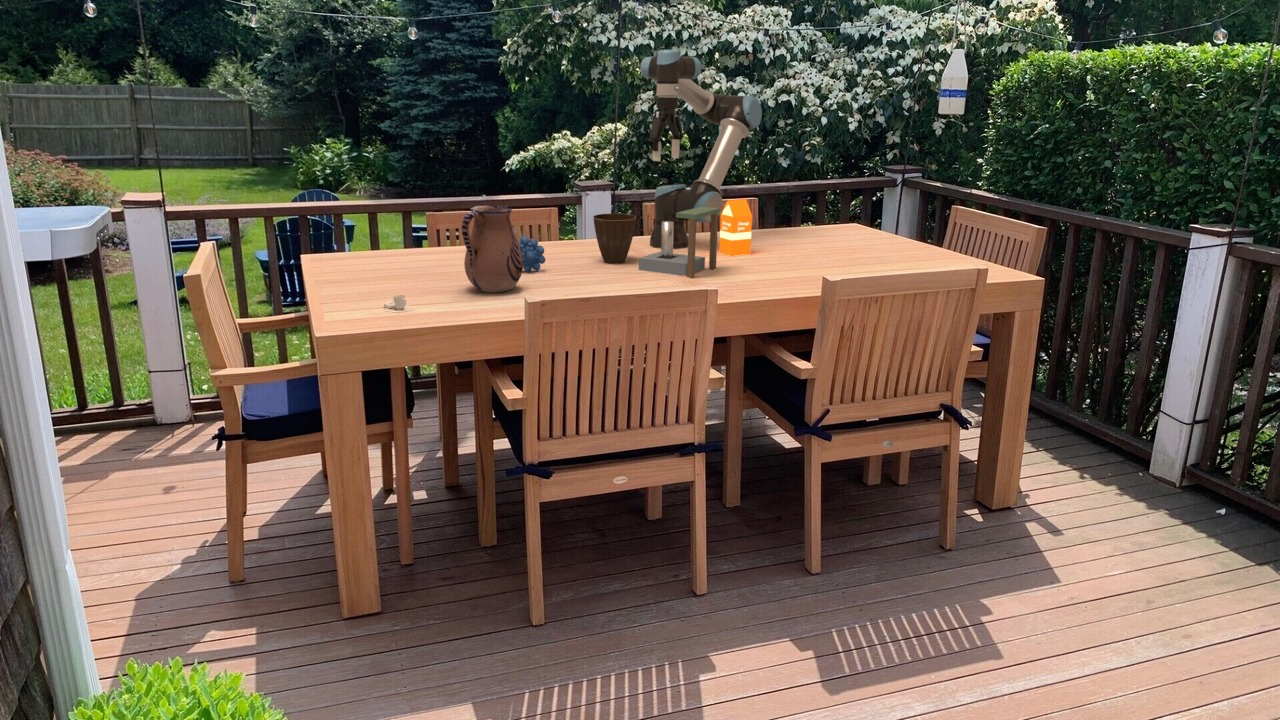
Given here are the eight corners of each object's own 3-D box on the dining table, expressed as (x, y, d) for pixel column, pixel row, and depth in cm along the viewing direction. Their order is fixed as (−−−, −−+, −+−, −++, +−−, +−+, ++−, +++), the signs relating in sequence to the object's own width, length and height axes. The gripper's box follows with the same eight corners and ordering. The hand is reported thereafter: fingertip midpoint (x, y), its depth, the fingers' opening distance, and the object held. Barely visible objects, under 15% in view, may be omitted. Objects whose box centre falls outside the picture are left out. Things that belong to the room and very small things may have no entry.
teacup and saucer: (380, 308, 259) (379, 294, 258) (408, 305, 263) (407, 291, 262) (389, 315, 252) (388, 300, 251) (418, 311, 256) (417, 297, 255)
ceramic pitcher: (534, 286, 286) (532, 205, 278) (497, 301, 267) (494, 214, 260) (486, 281, 292) (483, 202, 285) (447, 295, 274) (442, 210, 266)
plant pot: (643, 264, 322) (643, 218, 317) (604, 267, 316) (604, 220, 311) (624, 256, 335) (624, 212, 330) (586, 259, 328) (586, 214, 323)
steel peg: (669, 270, 312) (670, 223, 308) (658, 269, 314) (659, 222, 310) (674, 268, 316) (675, 221, 311) (664, 267, 318) (665, 220, 313)
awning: (674, 275, 304) (676, 212, 298) (699, 266, 319) (701, 206, 312) (693, 278, 300) (695, 214, 294) (717, 269, 315) (720, 208, 309)
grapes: (514, 275, 301) (513, 239, 298) (509, 271, 307) (508, 235, 304) (548, 273, 305) (548, 237, 302) (543, 269, 311) (543, 234, 308)
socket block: (638, 269, 313) (638, 258, 311) (658, 263, 324) (659, 251, 323) (685, 275, 304) (685, 264, 303) (704, 268, 315) (705, 257, 314)
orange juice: (750, 254, 342) (753, 200, 336) (731, 256, 337) (733, 201, 331) (737, 251, 348) (740, 197, 342) (718, 253, 344) (720, 199, 338)
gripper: (659, 97, 306) (657, 162, 313) (693, 96, 327) (691, 157, 333) (639, 97, 310) (638, 161, 316) (675, 96, 331) (673, 156, 337)
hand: (666, 159), depth 325 cm, fingers open, 13 cm apart
